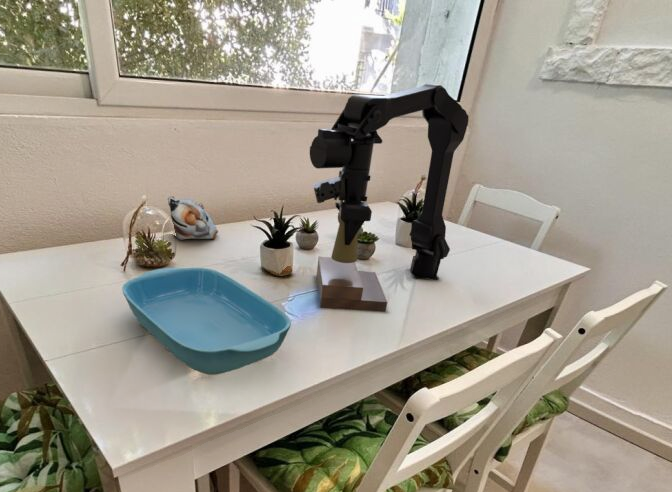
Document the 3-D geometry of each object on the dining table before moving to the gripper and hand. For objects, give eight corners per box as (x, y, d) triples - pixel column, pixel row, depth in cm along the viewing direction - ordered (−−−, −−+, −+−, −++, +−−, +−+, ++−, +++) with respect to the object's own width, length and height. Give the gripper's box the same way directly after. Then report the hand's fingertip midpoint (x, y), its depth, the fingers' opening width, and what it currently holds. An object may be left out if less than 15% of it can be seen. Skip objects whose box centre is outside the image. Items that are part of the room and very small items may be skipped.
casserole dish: (310, 360, 85) (314, 325, 81) (205, 401, 72) (203, 363, 68) (205, 289, 107) (204, 259, 103) (109, 311, 94) (104, 278, 90)
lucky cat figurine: (227, 236, 138) (222, 200, 126) (198, 259, 134) (190, 224, 121) (191, 211, 142) (184, 173, 129) (162, 233, 137) (151, 195, 125)
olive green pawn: (357, 255, 109) (364, 207, 103) (357, 264, 104) (364, 214, 98) (332, 252, 109) (337, 204, 103) (330, 261, 104) (336, 211, 98)
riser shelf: (373, 281, 120) (377, 260, 116) (385, 312, 105) (390, 289, 102) (316, 277, 119) (318, 256, 115) (320, 307, 104) (322, 284, 101)
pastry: (298, 276, 118) (299, 261, 116) (275, 279, 115) (276, 265, 113) (280, 263, 124) (281, 249, 122) (258, 266, 121) (258, 252, 119)
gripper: (315, 156, 103) (309, 226, 111) (320, 172, 87) (312, 253, 96) (364, 160, 103) (354, 230, 112) (377, 177, 88) (364, 257, 97)
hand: (346, 241), depth 104 cm, fingers closed on olive green pawn, 4 cm apart
